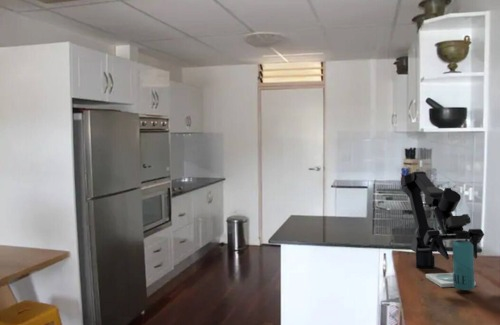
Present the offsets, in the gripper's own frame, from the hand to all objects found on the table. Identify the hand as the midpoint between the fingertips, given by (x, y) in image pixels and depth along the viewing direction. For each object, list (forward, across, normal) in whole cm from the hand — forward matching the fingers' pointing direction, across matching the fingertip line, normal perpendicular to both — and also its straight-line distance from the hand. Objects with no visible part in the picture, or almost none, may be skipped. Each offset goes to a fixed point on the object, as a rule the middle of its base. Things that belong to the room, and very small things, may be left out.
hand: (462, 258), depth 140 cm
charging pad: (0, +1, +15) cm, 15 cm away
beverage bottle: (+8, 0, +7) cm, 11 cm away
